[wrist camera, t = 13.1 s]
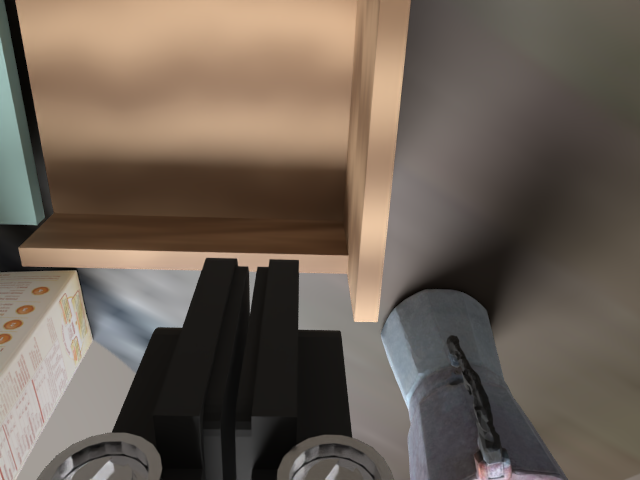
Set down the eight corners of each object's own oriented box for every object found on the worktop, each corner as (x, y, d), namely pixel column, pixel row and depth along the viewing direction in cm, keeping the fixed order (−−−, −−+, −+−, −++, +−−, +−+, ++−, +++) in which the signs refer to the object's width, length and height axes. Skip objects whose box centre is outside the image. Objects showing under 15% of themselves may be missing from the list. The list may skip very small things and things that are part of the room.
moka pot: (396, 410, 50) (450, 662, 32) (349, 265, 43) (383, 478, 25) (503, 384, 49) (621, 627, 31) (471, 231, 42) (598, 426, 24)
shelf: (22, -151, 31) (-171, -234, 18) (380, -131, 32) (431, -198, 19) (81, 224, 41) (-18, 337, 28) (353, 231, 42) (375, 344, 29)
